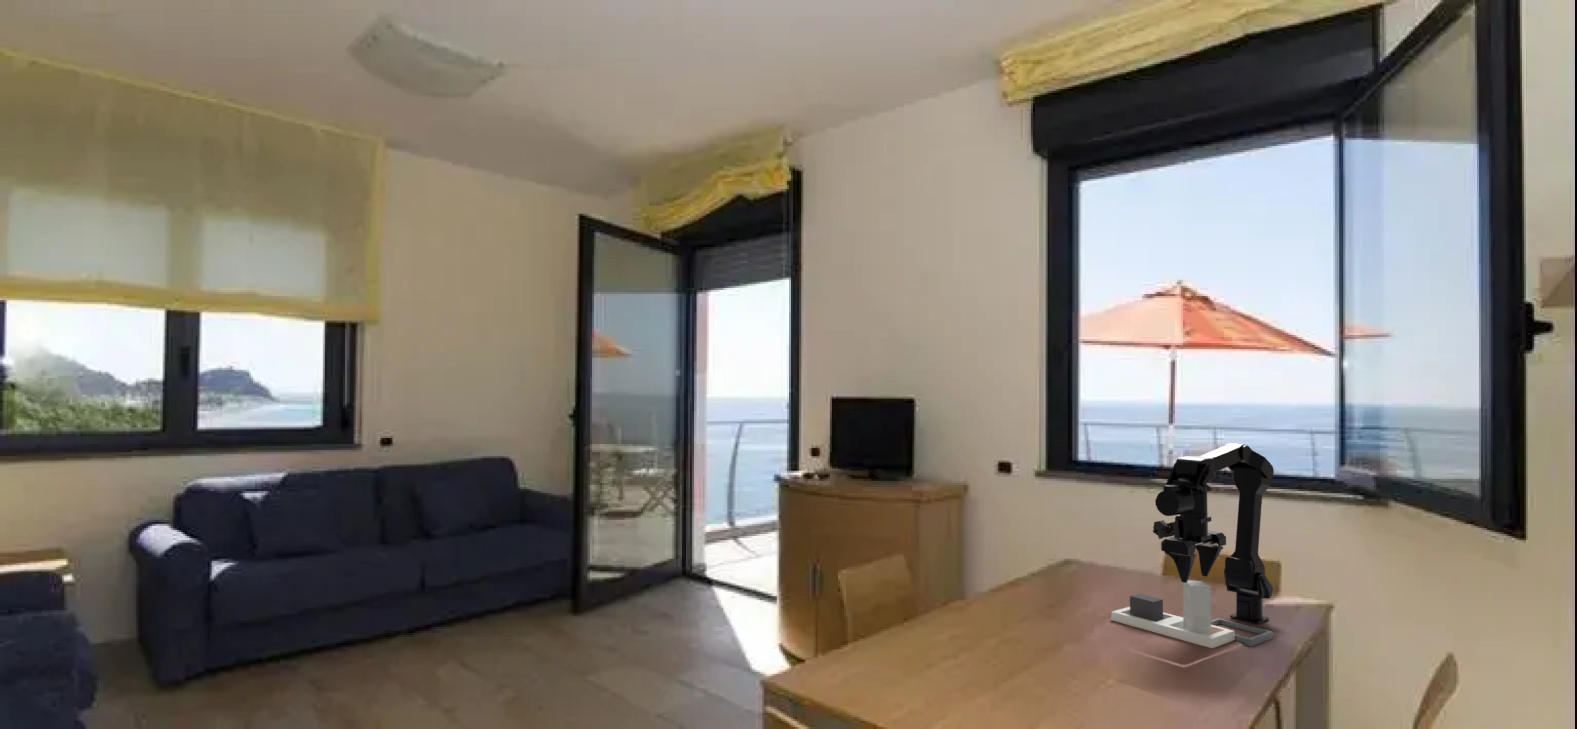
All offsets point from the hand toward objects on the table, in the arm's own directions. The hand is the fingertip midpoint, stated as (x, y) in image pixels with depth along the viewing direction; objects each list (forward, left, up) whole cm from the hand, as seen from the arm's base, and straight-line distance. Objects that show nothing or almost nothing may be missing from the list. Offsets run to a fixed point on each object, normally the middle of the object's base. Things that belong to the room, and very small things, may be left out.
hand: (1194, 579), depth 181 cm
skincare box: (+3, +2, -12) cm, 13 cm away
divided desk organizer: (+3, -4, -13) cm, 14 cm away
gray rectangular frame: (-7, +5, -13) cm, 15 cm away
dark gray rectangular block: (+3, -10, -12) cm, 16 cm away
